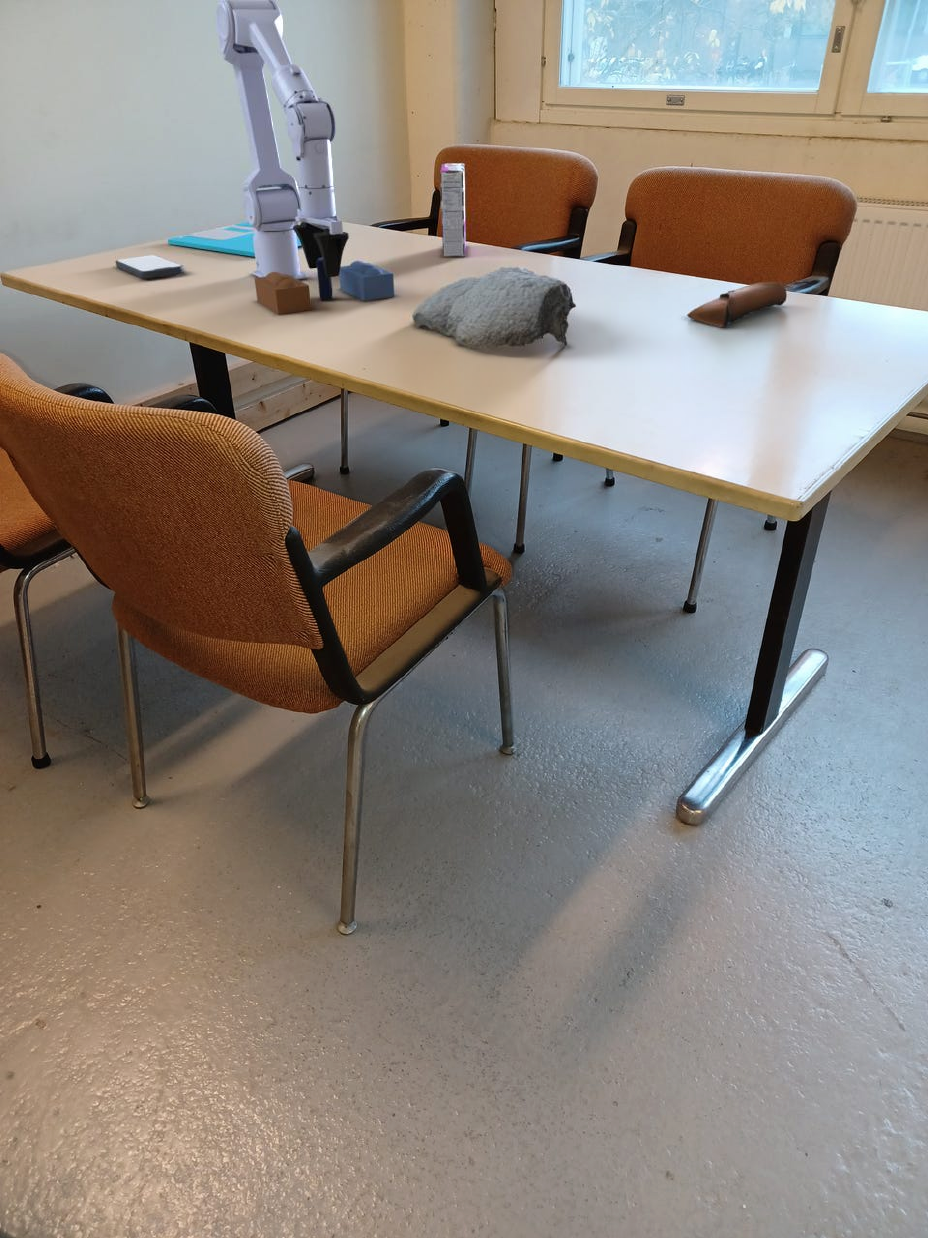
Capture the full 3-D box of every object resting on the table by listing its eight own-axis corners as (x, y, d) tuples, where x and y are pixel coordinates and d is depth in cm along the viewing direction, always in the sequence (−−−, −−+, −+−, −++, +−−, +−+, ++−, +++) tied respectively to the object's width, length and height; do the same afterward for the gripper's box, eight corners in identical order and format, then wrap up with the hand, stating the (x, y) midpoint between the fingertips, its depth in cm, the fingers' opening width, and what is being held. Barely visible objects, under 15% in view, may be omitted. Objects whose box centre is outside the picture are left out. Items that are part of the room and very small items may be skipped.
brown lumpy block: (257, 301, 155) (253, 271, 153) (289, 297, 158) (286, 267, 155) (278, 314, 148) (274, 283, 145) (311, 309, 151) (308, 278, 148)
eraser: (321, 297, 157) (317, 257, 154) (334, 297, 157) (330, 257, 153) (318, 300, 156) (314, 259, 152) (331, 300, 155) (327, 260, 152)
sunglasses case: (741, 295, 154) (764, 263, 149) (768, 322, 153) (793, 292, 147) (683, 315, 144) (706, 282, 138) (712, 345, 142) (737, 313, 137)
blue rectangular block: (340, 289, 162) (338, 260, 159) (369, 285, 165) (367, 256, 162) (364, 301, 155) (362, 271, 152) (394, 296, 158) (393, 267, 155)
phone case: (114, 268, 179) (143, 280, 169) (112, 259, 178) (141, 271, 168) (156, 262, 184) (187, 274, 173) (155, 254, 183) (185, 265, 172)
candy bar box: (443, 246, 194) (441, 162, 185) (465, 246, 194) (465, 162, 185) (441, 257, 184) (439, 170, 175) (465, 257, 184) (464, 169, 175)
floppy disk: (258, 257, 185) (257, 252, 184) (166, 243, 197) (166, 239, 197) (338, 236, 203) (338, 232, 202) (250, 225, 216) (249, 220, 215)
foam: (398, 322, 144) (394, 263, 139) (501, 300, 154) (501, 244, 149) (504, 365, 125) (505, 298, 119) (614, 337, 135) (619, 274, 130)
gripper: (277, 182, 150) (286, 266, 157) (311, 193, 140) (319, 283, 147) (315, 179, 153) (323, 261, 160) (351, 190, 143) (357, 277, 150)
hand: (323, 271), depth 154 cm, fingers open, 7 cm apart
